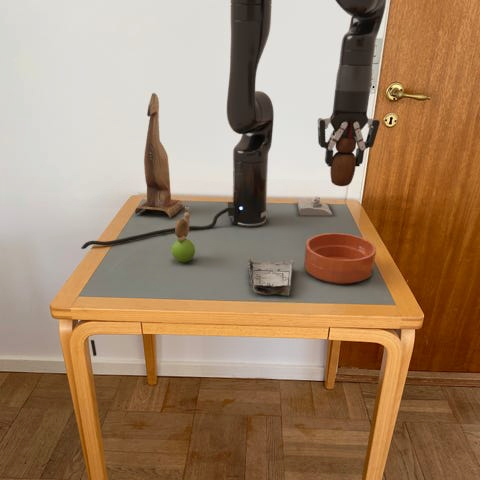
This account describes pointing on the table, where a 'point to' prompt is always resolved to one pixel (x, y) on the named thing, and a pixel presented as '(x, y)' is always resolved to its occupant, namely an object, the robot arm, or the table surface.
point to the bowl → (339, 258)
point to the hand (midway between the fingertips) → (343, 165)
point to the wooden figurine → (344, 160)
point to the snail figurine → (183, 240)
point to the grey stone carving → (313, 207)
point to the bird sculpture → (157, 167)
